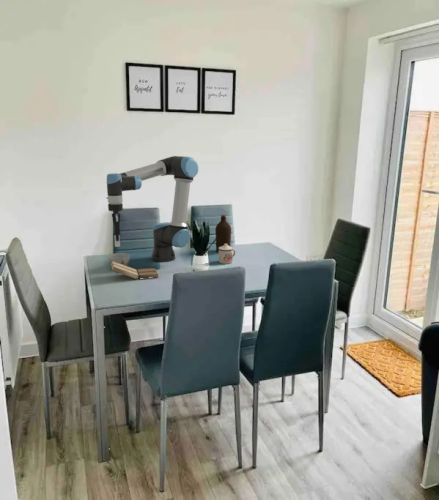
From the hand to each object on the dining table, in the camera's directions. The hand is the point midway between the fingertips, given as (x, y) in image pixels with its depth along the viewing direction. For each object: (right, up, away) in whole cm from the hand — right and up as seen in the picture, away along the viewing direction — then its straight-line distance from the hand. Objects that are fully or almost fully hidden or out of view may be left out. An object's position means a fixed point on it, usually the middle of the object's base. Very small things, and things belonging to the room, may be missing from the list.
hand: (117, 246), depth 240 cm
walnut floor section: (+15, -16, +9) cm, 24 cm away
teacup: (-4, -13, +23) cm, 27 cm away
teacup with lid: (+60, -9, +37) cm, 71 cm away
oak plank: (+2, -14, +5) cm, 15 cm away
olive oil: (+58, -3, +60) cm, 84 cm away
